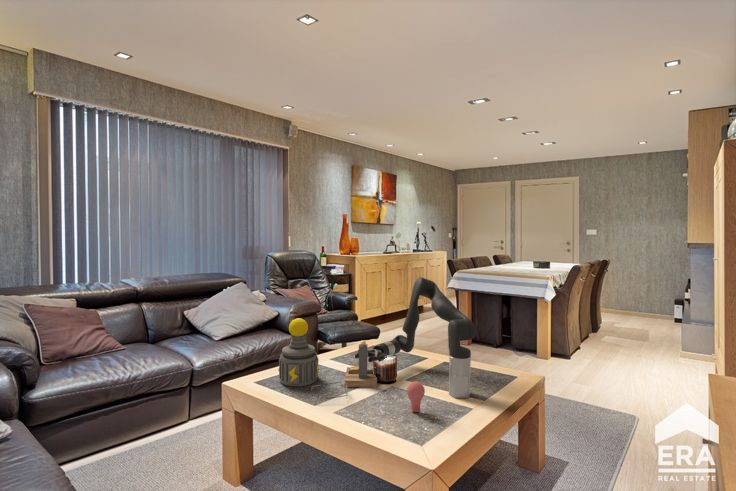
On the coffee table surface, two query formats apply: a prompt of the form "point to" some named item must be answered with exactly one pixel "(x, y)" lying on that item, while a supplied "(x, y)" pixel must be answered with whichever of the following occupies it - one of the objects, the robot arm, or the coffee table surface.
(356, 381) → the socket board
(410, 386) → the light bulb
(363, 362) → the plug
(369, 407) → the coffee table surface
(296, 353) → the decorative lamp
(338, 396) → the eyeglasses
